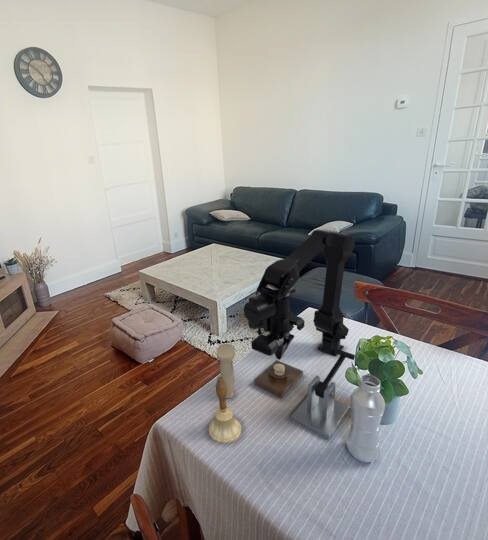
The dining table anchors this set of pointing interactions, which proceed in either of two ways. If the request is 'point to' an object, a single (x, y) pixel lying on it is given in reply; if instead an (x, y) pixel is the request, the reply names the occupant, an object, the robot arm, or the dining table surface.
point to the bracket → (320, 410)
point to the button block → (279, 379)
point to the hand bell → (224, 418)
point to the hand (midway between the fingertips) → (278, 358)
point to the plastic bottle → (366, 419)
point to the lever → (332, 372)
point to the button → (279, 369)
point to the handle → (227, 366)
